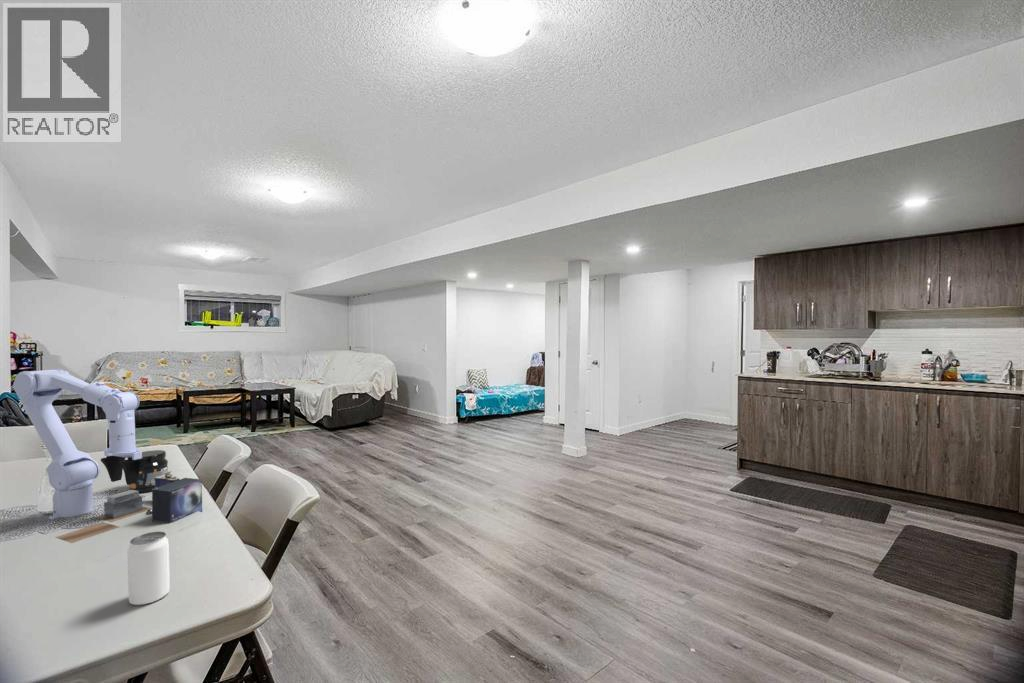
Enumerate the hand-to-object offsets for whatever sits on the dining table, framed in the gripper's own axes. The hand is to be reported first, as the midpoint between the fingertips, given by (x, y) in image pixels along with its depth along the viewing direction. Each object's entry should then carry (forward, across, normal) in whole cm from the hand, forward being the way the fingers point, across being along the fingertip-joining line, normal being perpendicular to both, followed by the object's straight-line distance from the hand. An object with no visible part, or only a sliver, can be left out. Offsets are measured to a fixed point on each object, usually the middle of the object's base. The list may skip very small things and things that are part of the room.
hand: (124, 482), depth 131 cm
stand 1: (+10, +6, -11) cm, 16 cm away
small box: (+11, +16, +5) cm, 20 cm away
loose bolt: (+10, +10, +4) cm, 15 cm away
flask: (+11, +2, +10) cm, 15 cm away
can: (+11, +50, -21) cm, 56 cm away
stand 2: (+10, 0, 0) cm, 10 cm away
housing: (+9, 0, 0) cm, 9 cm away
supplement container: (+10, -22, +18) cm, 31 cm away
